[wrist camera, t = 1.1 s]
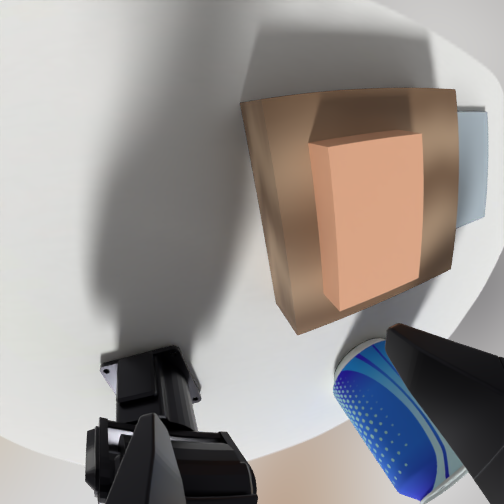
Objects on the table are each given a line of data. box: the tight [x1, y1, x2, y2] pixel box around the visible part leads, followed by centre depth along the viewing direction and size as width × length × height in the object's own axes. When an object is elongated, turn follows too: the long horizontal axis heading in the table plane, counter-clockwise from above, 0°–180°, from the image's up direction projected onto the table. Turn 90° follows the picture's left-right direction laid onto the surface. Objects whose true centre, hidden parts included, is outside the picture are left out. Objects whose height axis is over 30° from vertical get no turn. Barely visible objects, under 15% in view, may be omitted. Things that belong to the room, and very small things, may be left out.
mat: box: [456, 111, 488, 228], centre depth 24 cm, size 11×10×1 cm
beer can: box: [333, 338, 468, 504], centre depth 23 cm, size 8×8×16 cm
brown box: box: [240, 88, 459, 335], centre depth 20 cm, size 14×14×4 cm
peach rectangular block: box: [308, 130, 424, 311], centre depth 17 cm, size 9×6×2 cm, turn 10°
